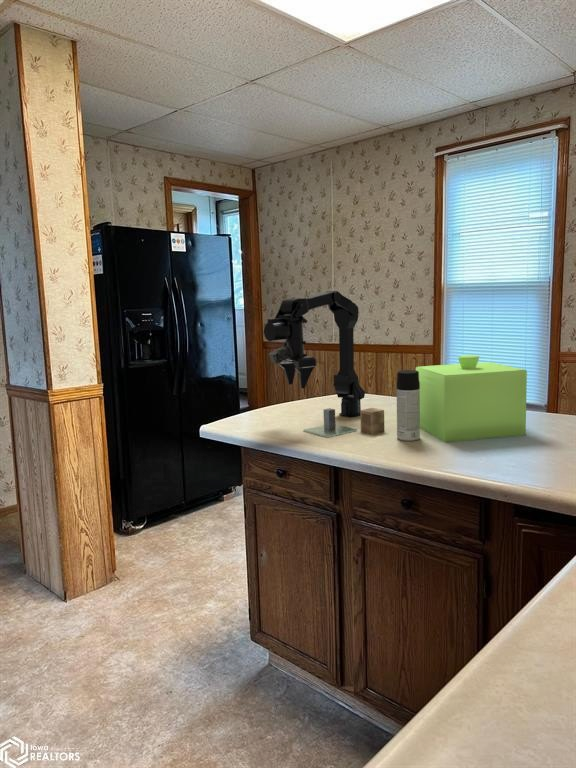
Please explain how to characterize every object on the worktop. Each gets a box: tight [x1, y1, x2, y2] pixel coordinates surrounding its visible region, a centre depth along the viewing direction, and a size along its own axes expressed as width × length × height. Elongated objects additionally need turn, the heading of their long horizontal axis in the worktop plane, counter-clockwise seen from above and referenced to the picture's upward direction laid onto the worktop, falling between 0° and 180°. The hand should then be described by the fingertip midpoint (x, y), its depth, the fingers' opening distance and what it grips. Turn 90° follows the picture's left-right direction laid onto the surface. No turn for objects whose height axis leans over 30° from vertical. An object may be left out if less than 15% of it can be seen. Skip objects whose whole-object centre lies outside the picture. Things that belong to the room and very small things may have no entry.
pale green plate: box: [303, 407, 358, 438], centre depth 183 cm, size 12×12×7 cm
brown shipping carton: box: [359, 407, 385, 435], centre depth 180 cm, size 5×5×7 cm
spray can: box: [396, 369, 421, 442], centre depth 169 cm, size 7×7×20 cm
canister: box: [415, 354, 528, 443], centre depth 175 cm, size 25×21×23 cm
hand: (296, 386), depth 187 cm, fingers open, 9 cm apart
